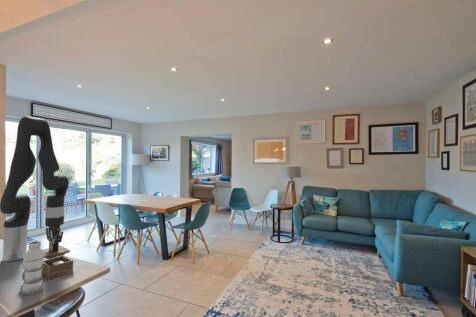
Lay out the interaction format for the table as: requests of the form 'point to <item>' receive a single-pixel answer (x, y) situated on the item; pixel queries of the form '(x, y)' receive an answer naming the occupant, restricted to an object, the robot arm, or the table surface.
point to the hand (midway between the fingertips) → (53, 249)
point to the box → (57, 267)
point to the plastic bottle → (33, 269)
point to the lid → (52, 254)
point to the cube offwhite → (57, 263)
